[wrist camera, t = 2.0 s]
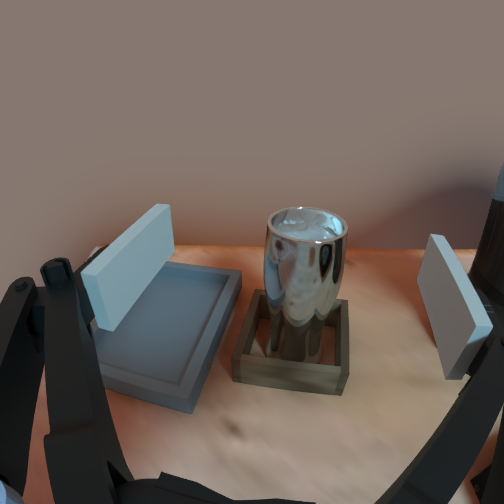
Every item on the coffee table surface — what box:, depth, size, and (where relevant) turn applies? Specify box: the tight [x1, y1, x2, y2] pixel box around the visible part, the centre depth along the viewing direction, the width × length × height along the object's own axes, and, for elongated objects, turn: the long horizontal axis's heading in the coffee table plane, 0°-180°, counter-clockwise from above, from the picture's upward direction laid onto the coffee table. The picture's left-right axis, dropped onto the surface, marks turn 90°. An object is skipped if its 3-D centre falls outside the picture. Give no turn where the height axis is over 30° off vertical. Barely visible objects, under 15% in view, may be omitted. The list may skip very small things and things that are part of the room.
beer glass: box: [263, 206, 348, 364], centre depth 30 cm, size 7×7×15 cm
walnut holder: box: [231, 289, 349, 396], centre depth 33 cm, size 11×11×4 cm
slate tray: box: [91, 261, 242, 414], centre depth 35 cm, size 14×20×2 cm
